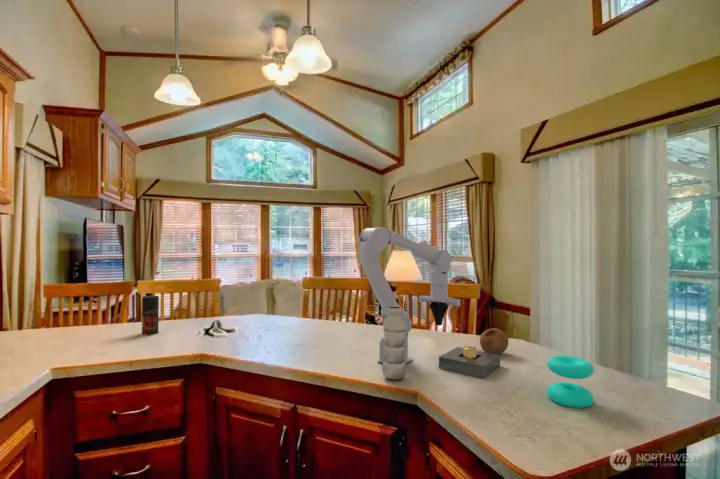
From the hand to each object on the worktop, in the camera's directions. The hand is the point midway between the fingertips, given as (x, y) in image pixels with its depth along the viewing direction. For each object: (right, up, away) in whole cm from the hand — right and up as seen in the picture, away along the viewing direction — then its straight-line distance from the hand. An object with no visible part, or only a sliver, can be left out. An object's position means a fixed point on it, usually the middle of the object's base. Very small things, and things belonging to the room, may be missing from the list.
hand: (438, 324), depth 132 cm
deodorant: (-113, -10, +27) cm, 116 cm away
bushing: (+7, -11, -12) cm, 17 cm away
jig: (+7, -10, -12) cm, 17 cm away
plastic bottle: (-17, -10, -22) cm, 30 cm away
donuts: (+25, -11, -37) cm, 46 cm away
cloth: (-87, -11, +29) cm, 93 cm away
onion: (+20, -11, +3) cm, 22 cm away
